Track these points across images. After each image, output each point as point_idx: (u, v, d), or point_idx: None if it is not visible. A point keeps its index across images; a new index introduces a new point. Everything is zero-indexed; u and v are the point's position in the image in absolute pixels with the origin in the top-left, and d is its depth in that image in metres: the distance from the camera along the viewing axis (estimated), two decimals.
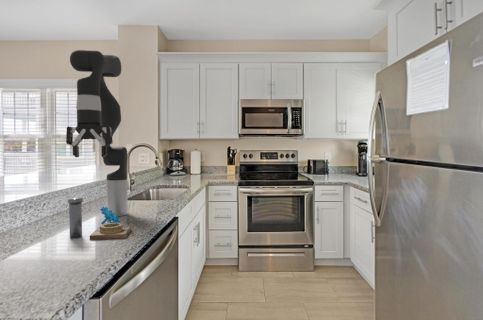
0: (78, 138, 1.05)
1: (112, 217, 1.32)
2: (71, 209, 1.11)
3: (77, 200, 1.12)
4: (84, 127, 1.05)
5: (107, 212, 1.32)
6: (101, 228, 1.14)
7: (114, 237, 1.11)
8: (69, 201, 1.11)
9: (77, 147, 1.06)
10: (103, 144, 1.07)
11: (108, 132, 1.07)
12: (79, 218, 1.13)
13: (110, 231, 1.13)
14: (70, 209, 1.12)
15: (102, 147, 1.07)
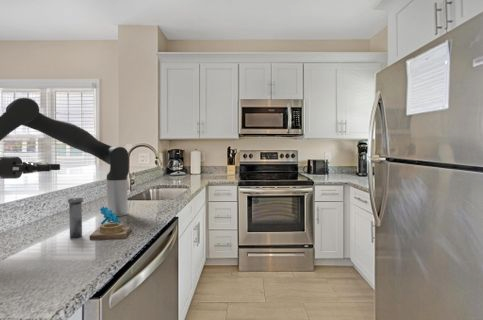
0: (39, 171, 1.12)
1: (112, 217, 1.32)
2: (71, 209, 1.11)
3: (77, 200, 1.12)
4: None
5: (107, 212, 1.32)
6: (101, 228, 1.14)
7: (114, 237, 1.11)
8: (69, 201, 1.11)
9: None
10: (35, 171, 1.05)
11: (19, 172, 1.02)
12: (79, 218, 1.13)
13: (110, 231, 1.13)
14: (70, 209, 1.12)
15: (39, 171, 1.05)
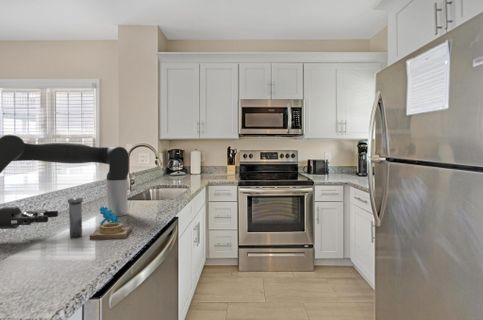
0: None
1: (111, 217, 1.32)
2: (71, 209, 1.11)
3: (77, 200, 1.12)
4: None
5: (106, 212, 1.32)
6: (101, 228, 1.14)
7: (114, 237, 1.11)
8: (69, 201, 1.11)
9: (47, 214, 1.15)
10: (33, 223, 1.07)
11: None
12: (79, 218, 1.13)
13: (110, 231, 1.13)
14: (70, 209, 1.12)
15: None
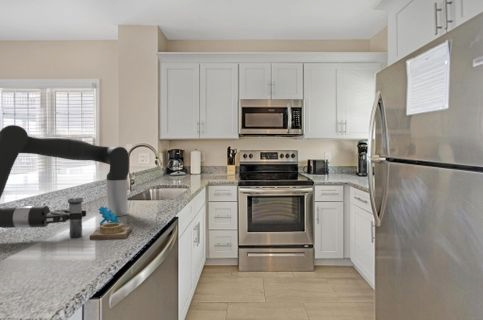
0: None
1: (110, 217, 1.32)
2: (71, 208, 1.11)
3: (77, 200, 1.12)
4: None
5: (105, 212, 1.32)
6: (101, 228, 1.14)
7: (114, 237, 1.11)
8: (69, 201, 1.11)
9: None
10: (68, 220, 1.11)
11: None
12: None
13: (110, 231, 1.13)
14: (70, 209, 1.12)
15: None
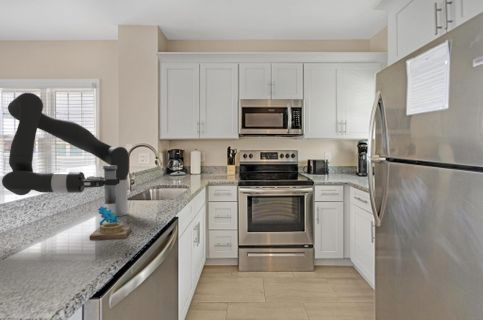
0: None
1: (110, 217, 1.32)
2: (107, 175, 1.14)
3: (112, 166, 1.14)
4: None
5: (105, 212, 1.32)
6: (101, 228, 1.14)
7: (114, 237, 1.11)
8: (105, 167, 1.14)
9: None
10: (104, 185, 1.13)
11: (90, 187, 1.10)
12: None
13: (110, 231, 1.13)
14: (105, 175, 1.14)
15: (107, 185, 1.14)
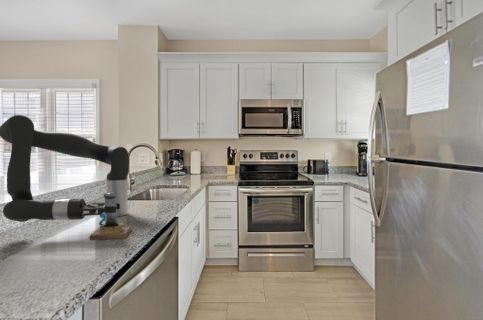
0: None
1: None
2: (107, 203, 1.14)
3: (113, 194, 1.15)
4: None
5: None
6: (101, 228, 1.14)
7: (114, 237, 1.11)
8: (105, 195, 1.14)
9: None
10: None
11: None
12: None
13: (110, 231, 1.13)
14: (106, 203, 1.15)
15: None
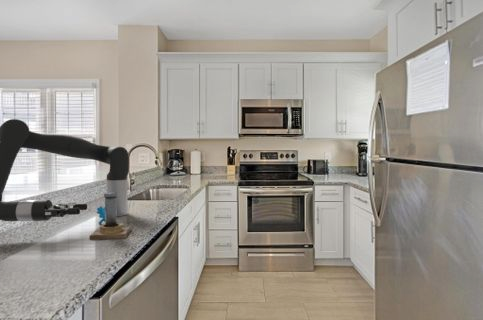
0: None
1: None
2: (107, 203, 1.14)
3: (113, 194, 1.15)
4: None
5: (104, 212, 1.33)
6: (101, 228, 1.14)
7: (114, 237, 1.11)
8: (105, 195, 1.14)
9: (77, 207, 1.18)
10: (66, 215, 1.09)
11: None
12: (114, 212, 1.16)
13: (110, 231, 1.13)
14: (106, 203, 1.15)
15: None
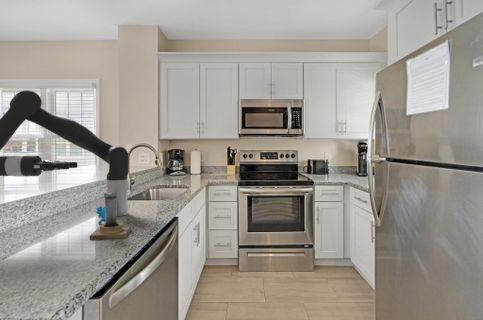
0: (57, 169, 1.16)
1: None
2: (107, 203, 1.14)
3: (113, 194, 1.15)
4: None
5: (103, 212, 1.33)
6: (101, 228, 1.14)
7: (114, 237, 1.11)
8: (105, 195, 1.14)
9: None
10: (55, 169, 1.09)
11: (40, 170, 1.07)
12: (114, 212, 1.16)
13: (110, 231, 1.13)
14: (106, 203, 1.15)
15: (59, 169, 1.10)
